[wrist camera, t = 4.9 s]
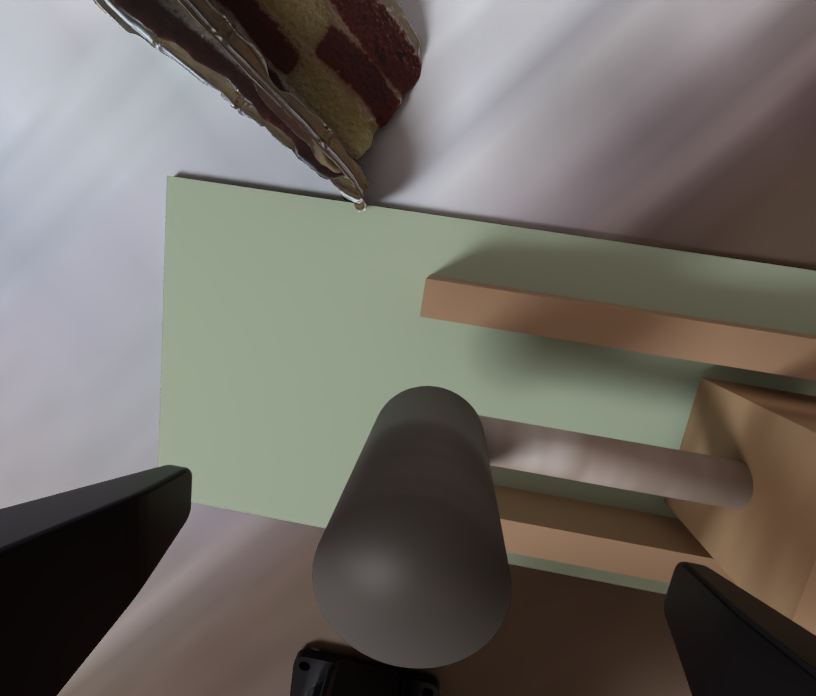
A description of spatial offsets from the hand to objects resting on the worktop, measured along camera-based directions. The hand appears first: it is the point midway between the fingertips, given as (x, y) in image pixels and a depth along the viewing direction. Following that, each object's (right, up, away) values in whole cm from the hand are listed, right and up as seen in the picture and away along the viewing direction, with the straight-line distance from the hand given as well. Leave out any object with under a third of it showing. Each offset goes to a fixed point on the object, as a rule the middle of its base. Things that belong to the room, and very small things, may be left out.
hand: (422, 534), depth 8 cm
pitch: (+10, 0, +8) cm, 13 cm away
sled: (+6, +1, +8) cm, 10 cm away
